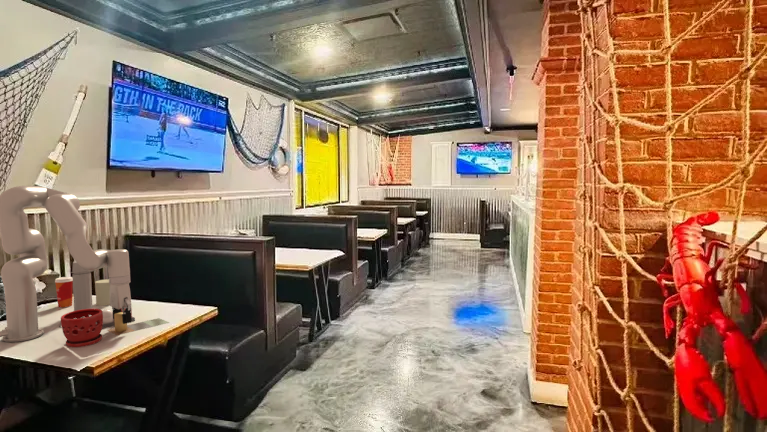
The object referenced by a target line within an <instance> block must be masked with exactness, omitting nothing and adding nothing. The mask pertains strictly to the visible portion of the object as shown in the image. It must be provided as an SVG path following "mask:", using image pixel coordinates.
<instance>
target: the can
mask: <svg viewBox="0 0 767 432" xmlns="http://www.w3.org/2000/svg"><path fill="white" fill-rule="evenodd" d="M94 283H95V285H94V287H95V305H96V306H101V307H102V306H103V307H104V306H105V307H106V306H110V285H109V278H108V279H99V280H96V281H94Z"/></svg>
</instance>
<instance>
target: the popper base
mask: <svg viewBox="0 0 767 432" xmlns="http://www.w3.org/2000/svg"><path fill="white" fill-rule="evenodd" d="M124 310H125V309H124ZM121 311H122V309H121ZM132 311H133V309H132V307H131V318H132V322H135V321H136V317H135V316H133V315H132V314H133V313H132ZM96 324H97V322H96ZM113 326H114V327H115V321H114V322H111V323H106V324H103V326H102V329H105V328H110V327H113Z"/></svg>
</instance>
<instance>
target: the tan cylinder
mask: <svg viewBox="0 0 767 432" xmlns="http://www.w3.org/2000/svg"><path fill="white" fill-rule="evenodd" d="M122 314H123V312H120V313H116V314H114V321H115V325H114V328H115V332H123V331H126V330H127V325H128V323H126V324H123V321H122Z"/></svg>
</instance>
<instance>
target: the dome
mask: <svg viewBox="0 0 767 432" xmlns="http://www.w3.org/2000/svg"><path fill="white" fill-rule="evenodd" d="M102 313H103V324H106V323H111V322H114V319H113V311H112V310H110V309H106V308H105V309H103V310H102Z"/></svg>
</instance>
